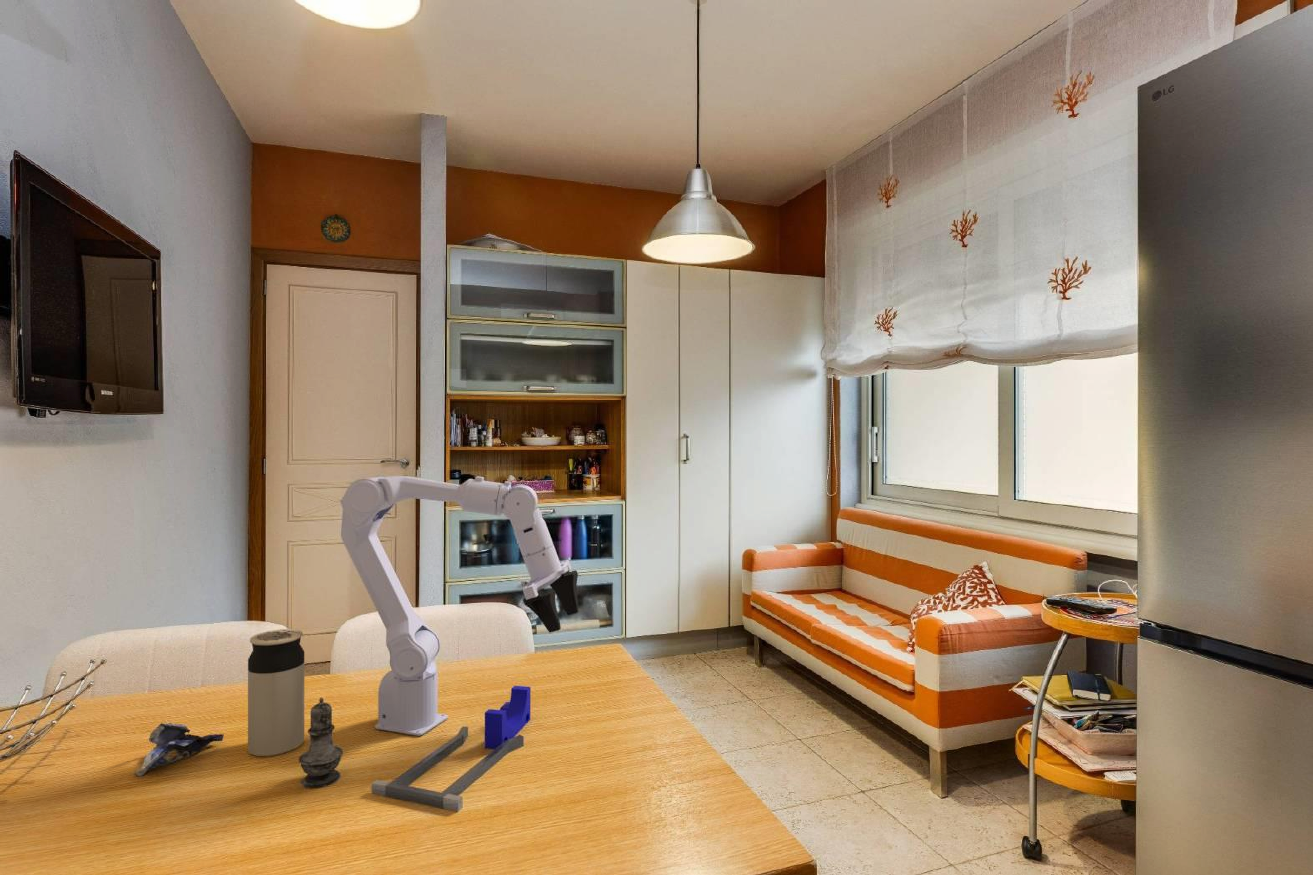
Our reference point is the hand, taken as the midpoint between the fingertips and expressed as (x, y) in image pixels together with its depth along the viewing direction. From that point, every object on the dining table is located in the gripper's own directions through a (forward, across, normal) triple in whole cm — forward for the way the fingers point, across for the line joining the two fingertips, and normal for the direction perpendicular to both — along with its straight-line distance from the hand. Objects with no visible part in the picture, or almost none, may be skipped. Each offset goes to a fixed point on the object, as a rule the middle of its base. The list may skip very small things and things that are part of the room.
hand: (564, 621), depth 119 cm
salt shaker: (+5, -32, +28) cm, 43 cm away
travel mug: (+1, -26, +42) cm, 50 cm away
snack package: (-4, -33, +54) cm, 63 cm away
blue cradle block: (+13, -10, +12) cm, 21 cm away
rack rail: (+11, -23, +12) cm, 28 cm away
